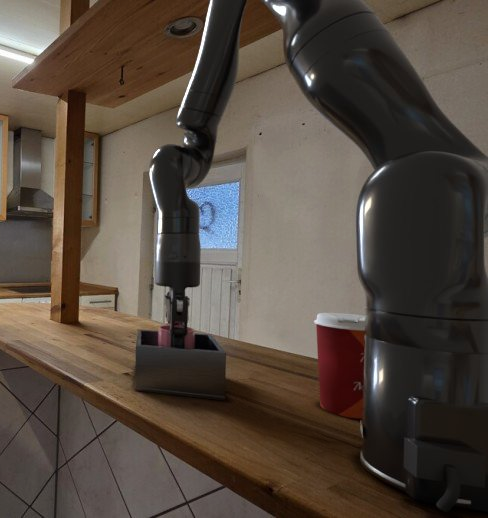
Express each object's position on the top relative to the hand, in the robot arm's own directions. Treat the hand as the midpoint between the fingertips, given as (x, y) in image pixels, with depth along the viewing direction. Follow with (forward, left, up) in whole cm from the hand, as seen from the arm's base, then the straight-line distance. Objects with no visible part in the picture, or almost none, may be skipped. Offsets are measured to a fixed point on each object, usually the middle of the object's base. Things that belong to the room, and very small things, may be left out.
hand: (175, 352), depth 67 cm
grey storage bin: (0, 0, -5) cm, 5 cm away
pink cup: (0, 0, -5) cm, 5 cm away
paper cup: (-5, -23, -5) cm, 24 cm away
